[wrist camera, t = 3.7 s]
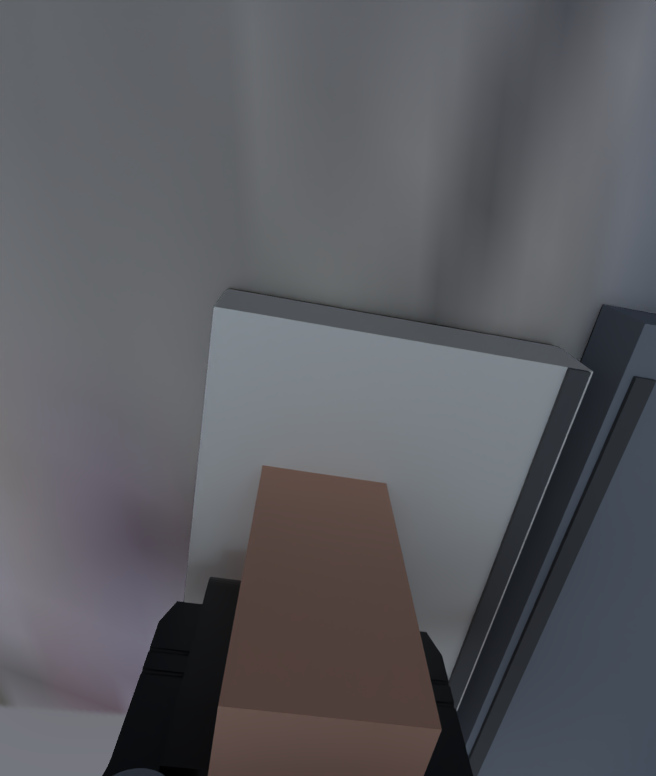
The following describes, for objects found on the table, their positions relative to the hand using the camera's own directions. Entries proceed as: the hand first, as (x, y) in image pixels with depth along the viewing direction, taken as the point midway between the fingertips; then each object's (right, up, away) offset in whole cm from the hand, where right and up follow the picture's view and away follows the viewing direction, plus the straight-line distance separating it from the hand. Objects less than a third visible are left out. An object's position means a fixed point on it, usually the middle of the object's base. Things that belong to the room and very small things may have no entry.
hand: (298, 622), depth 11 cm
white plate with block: (+1, +1, +3) cm, 3 cm away
